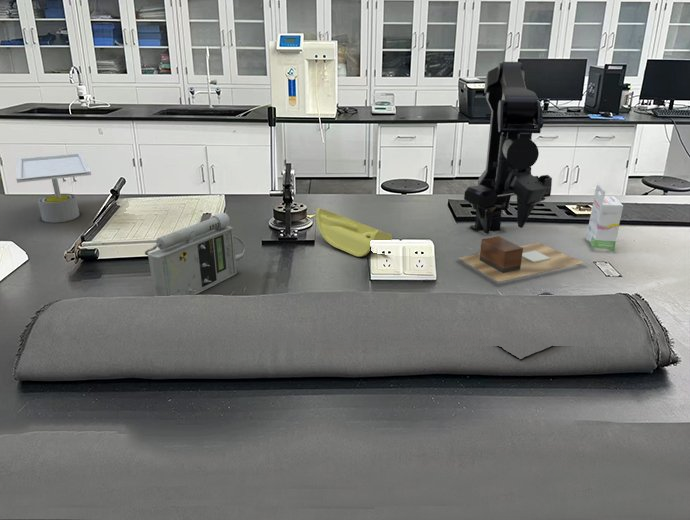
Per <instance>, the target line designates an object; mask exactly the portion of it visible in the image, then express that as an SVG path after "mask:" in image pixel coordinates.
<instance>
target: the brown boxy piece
mask: <svg viewBox="0 0 690 520" xmlns="http://www.w3.org/2000/svg"><path fill="white" fill-rule="evenodd" d="M480 242H481V243H480V251H479V254H480V261H482V262H484V263H486V264H488V265H489V266H491V267H493V268H495V269H496V270H498V271H500V272H502V273H505V272H510V271H515V270H519V269H520V267H521V260H522V253H523V248H522V247H520V246H521V245H518V244H515V243H513V242H512V241H510V240H507V239H505V238H503V237H501V236H500V235H499V236H493V237H487V238H481V241H480Z"/></svg>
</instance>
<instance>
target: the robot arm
mask: <svg viewBox="0 0 690 520" xmlns="http://www.w3.org/2000/svg"><path fill="white" fill-rule="evenodd" d="M523 66H524V65H523V63H522V62H520V61H501V62H499V63H498V65H497V66H496V67H495V68H492V69H491V70H488V72H487V74H486V77H485V80H484V94H486V95H485V96H486V97H485V100H486V102H487V104H488V106H489V109H490V112H491V113H490V123H489V134H488V140H487V141H488V142H487V153H486V161H485V162H486V163H485V170H484V171H483V172H482V173H481V175H480V176H479V177H478V180H477V185H472V186H468V187H467V188H466V189H464V194H463V195H464V196H463V200H465V201H467V202H468V203H469V204H471V205H472V208H473V210H475V221H474V224H472V225H470V226H469V228H470V229H472V230H474V231H476V232H481V231H482V232H484V234H485V235H486V234H487V235H489V234H490V232H497V231H501V224H502V211H505V212H507V210H508V209H509V205H510V201H511V197H512V196H516V222H517V227H518V228H520V229H522V228H524V226H525V225H526V222H527V220H528V218H529V216H530V215H531V213H532V211H533V209H534V208H535V207H536V205H538V204H539V203H541V202H543V201H545V200H546V199H547V198H549V197H551V195H552V194H551V193H552V184H553V177H551V175H549V174H544V175H543V174H542V175H540V176H538V175H533V174H532V167H533V166H534V165H535V164H536V162H537V161H538V158H539V153H540V152H539V147H538V146H537V144H536V143H535V142H534V141H533V139H532V136H533V134H541V131H542V129H543V127H544V115H543V114H544V113H543V106H542V105H541V103H542V102H541V101H540V100H539V99H538V96H537V93H536V92H535V91H533V90H530V89H528V88H527V86H526V82H525V71H524V69H523Z"/></svg>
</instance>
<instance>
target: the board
mask: <svg viewBox="0 0 690 520" xmlns="http://www.w3.org/2000/svg"><path fill="white" fill-rule="evenodd" d="M519 246H520V247H522V248H523V253H526V252H531V251H537V252H539V253H541V254H543V255H545V256H547V257H550V258H551V259H550V260H546V261H541V262H536V263H532V262H530V261H528V260H526V259H524V258H522V260H521V267H520V269H519V270H515V271H510V272H505V273H502V272H500V271H498V270H496V269H495V268H493V267H491V266H489V265H488V264H486V263H484V262H482V261H480V253H477V254H472V255H467V256H460V257H458V259H459V260H461V261H462V262H464V263H466V264H468V265H469V266H471V267H473V268H474V269H476V270H477V271H480V272H481V273H483V274H484V275H486V276H488V277H490V278H491V279H493V280H495V281H496V282H499V283H500V282H503V281H509V280H514V279H517V278H522V277H526V276H531V275H536V274H540V273H544V272H549V271H553V270H559V269H563V268H567V267H572V266H577V265H581V264H584V261H581V260H579V259H576V258H574V257H572V256H570V255H567V254H566V253H563V252H561V251H558V250H556V249H554V248H553V247H550V246H548V245H545V244H543V243H541V242H535V243H530V244H524V245H519Z"/></svg>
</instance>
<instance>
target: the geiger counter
mask: <svg viewBox="0 0 690 520" xmlns="http://www.w3.org/2000/svg"><path fill="white" fill-rule="evenodd" d="M230 224H231V220H230V217H229V214H227V213H226V212H220V213H218V214H214V215H212V216H211V217H210V218H208V219H206V220H203V221H199V222H197V223H194V224H191V225H189V226H187V227H184V228H181V229H178V230H176V231H172V232H171V233H167V234H165V235H162V236H159V237H157V238H156V240H155V245H154V246H153V247H151V248H149V249H146V250H145V251H144V255H145V256H147V257H148V264H149V270H150V276H151V283H152V289H153V290H152V291H153V297H154V296H170V295H194V296H196V295H198V294H200V293H202V292H204V291H206V290H208V289H210V288H211V287H214V286H216V285H218V284H220V283H222V282H224V281H226V280H228V279H230V278H233V277H234V276H235V275H237V274H238V271H237V262H239V261H240V260H242V259H243V258H244V255H245V254H246V250H247V249H246V244H245V242H244V241H243V240H242V239H241V238H240V237H238V236H237V235H234V227H233V226H231V225H230ZM235 239H236V240H237V241H239V242H240V243H241V244H242V249H243V250H242V253H239V254H236V247H235ZM157 248H158V249H157ZM156 249H157V250H156ZM154 250H155V251H154Z"/></svg>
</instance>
